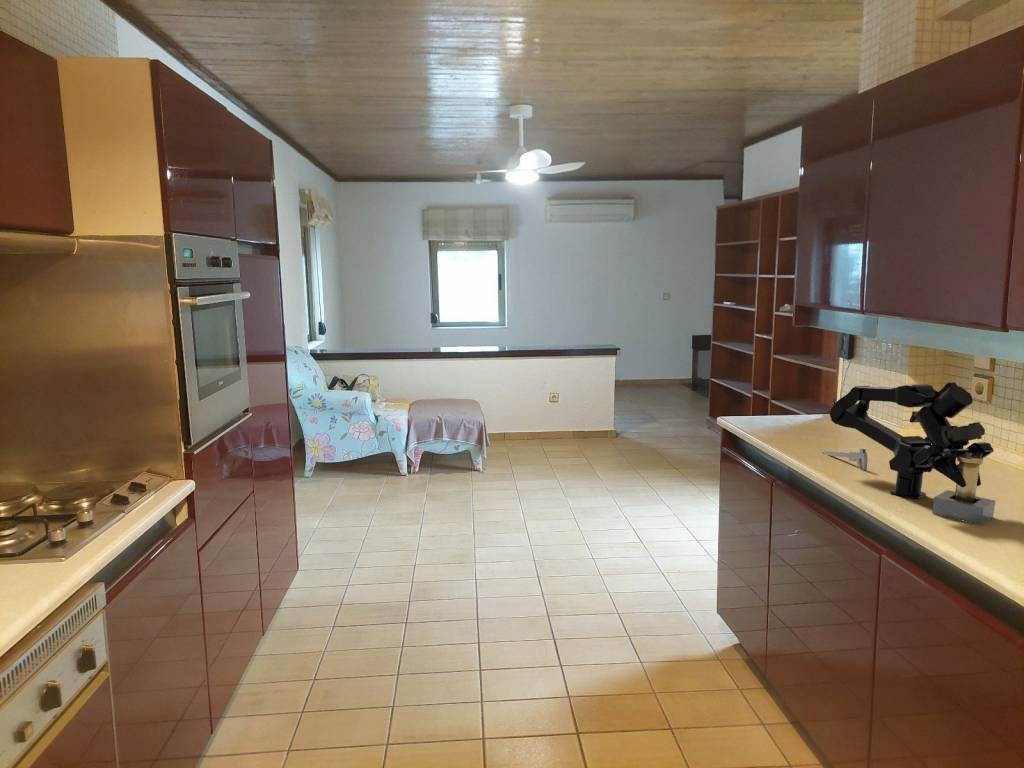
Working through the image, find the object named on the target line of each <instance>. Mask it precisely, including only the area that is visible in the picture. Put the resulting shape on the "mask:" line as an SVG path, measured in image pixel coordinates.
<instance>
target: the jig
mask: <svg viewBox="0 0 1024 768" xmlns="http://www.w3.org/2000/svg"><path fill="white" fill-rule="evenodd" d="M954 498H955V491H953V490H949V489H947V490H945V491H943V492H940V493H939V494H937V495H936V496H934V497H933V503H932V504H933V505H932V513H934V514H933V515H936V514H938V515H937V516H940V515H942V516H941V517H944V516H946V517H945V518H949V517H950V518H949V519H953V518H955V519H954V520H957V519H959V520H958V521H961V520H964V521H963V522H965V521H967V522H966V523H969V522H971V523H970V524H973V523H975V524H974V525H977V524H979V525H978V526H982V525H984V524H985V523H986V521H987V520H988V521H990V520H991V519H992V517H993V518H994V514H995V507H996V500H994V499H991V498H990V499H989V498H985V497H982V496H981V497H980V496H976V495H975V503H974V504H972V503H968V502H963V501H959V500H955V499H954ZM932 513H931V514H932ZM990 518H991V519H990ZM989 519H990V520H989ZM988 521H987V522H988ZM984 522H985V523H984ZM983 523H984V524H983Z"/></svg>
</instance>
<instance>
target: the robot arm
mask: <svg viewBox="0 0 1024 768" xmlns="http://www.w3.org/2000/svg"><path fill="white" fill-rule="evenodd" d="M933 387H934V386H933V385H932V384H928V383H924V384H923V383H922V384H921V383H920V384H905V385H899V386H897V387H889V386H888V387H884V386H883V387H882V386H870V385H855V386H854V387H852V388H851V389H850V390H849V391H848V393H846V394H845V395H843V396H842V397H841V398H839V399H838V400H837V401H836V402H835V404H834V405H833V406H832V407H831V409H830V410H829V418H830V421H831V422H832V423H833V424H834V425H838V426H841V427H844V428H848V429H852V430H853V429H854V430H856V431H858V432H859V433H861V434H863V435H865V437H867V438H869V439H871V440H873V441H874V442H876V443H878V444H879V445H881V446H883V447H884V448H885V449H886V448H887V450H889V451H891V452H892V453H893V455H894V456H893V457H892V458H891V459H890V460H889V461H888V464H889V469H890V470H891V471H895V472H896V480H895V481H896V483H895V488H894V489H892V490H889V494H893V495H897V496H901V497H905V498H908V499H909V498H910V499H914V500H918V499H920V498H922V497H925V496H926V495H927V494H926V492H923V491H922V488H923V479H924V478H923V477H924V473H932V471H933V470H935V471H937V472H938V473H940V474H941V475H943V476H945V477H946V478H948V479H950V480H951V481H952V482H953V483H955V484H958V485H959V486H961V487H965V486H966V483H965V480H964V478H963V476H962V474H961V472H960V470H959V463H958V464H957V456H958V455H971V456H976V457H980V458H982V459H983V460H984V459H985V458H987V457H988V456H989V455H991V454H992V453H993V452H995V449H994V448H993V446H992V445H991V443H990V442H986V441H980V442H979V441H978V442H973V443H972V444H970V441H972V440H973V441H974V440H981V439H983V436H984V435H986V434H985V433H986V432H985V431H986V430H985V428H984V426H983V425H982V423H981V422H980V421H979V422H977V421H976V422H972V423H968V425H967V424H966V425H962V426H957V425H952V424H951V422H950V421H949V420H948V418H949V419H953V418H955V417H956V416H958V415H959V414H960V413H961V412H963V411H964V410H965V409H967V408H968V407H969V406H970V405H971V404H973V401H974V399H973V397H972V394H971V393H970V392H969V391H968V390H966V389H965V388H963V387H962V386H959V385H958V384H957V382H955V381H953V382H951V381H950V382H947V383H946V384H945V385H944V386H943V387H942V388H941V389H940V390H939V391H938V390H936V389H935V388H933ZM873 401H874V402H889V403H895V404H897V405H898V406H901V407H904V408H909V409H911V408H919V410H917V411H912V412H911V415H910V418H909V423H911V424H912V423H914V424H915V423H919V426H920V427H921V428H922V430H923V432H924V434H925V435H926V437H922V436H920V435H914V436H913V435H912V436H911V435H910V436H903V435H901V434H900V433H898V432H896V431H894V430H893V429H891V428H889V427H888V426H885V425H884V424H882V423H880V422H879V421H877V420H875V419H873V418H872V417H870V416H869V415H868V411H869V409H870V403H871V402H873ZM969 444H970V445H969ZM967 445H968V446H967ZM966 446H967V447H966ZM965 447H966V448H965ZM981 485H982V480H981V475H980V472H979V473H978V481H977V487H980V486H981Z"/></svg>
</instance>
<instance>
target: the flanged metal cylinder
mask: <svg viewBox="0 0 1024 768" xmlns="http://www.w3.org/2000/svg"><path fill="white" fill-rule="evenodd" d="M983 461H984V458H983V459H982V458H980V457H976V456H971V455H958V456H957V458H956V462H958V464H959V470H960V472H961V474H962V476H963V478H964V480H965V483H966V486H965V487H961V486H959V485H958V484H956V483H955V484H956V485H955V491H954V492H955V498H954V499H955V500H959V501H963V502H968V503H972V504H974V503H975V496H976V494H977V487H978V486H977V481H978V473H979V474H980V465H983Z"/></svg>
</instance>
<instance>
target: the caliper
mask: <svg viewBox="0 0 1024 768" xmlns="http://www.w3.org/2000/svg"><path fill="white" fill-rule="evenodd" d="M866 450H867V449H866V448H859V451H848V452H847V451H838V450H829V449H827V450H824V451H822V452H821V453H822V454H824V455H825V456H831V457H839V458H848V461H850V462H851V461H852V462H856V464H857V465H856V466H857V468H862V469H861V470H862V471H867V470H868V461H869V459H868V453H867V451H866Z"/></svg>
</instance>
